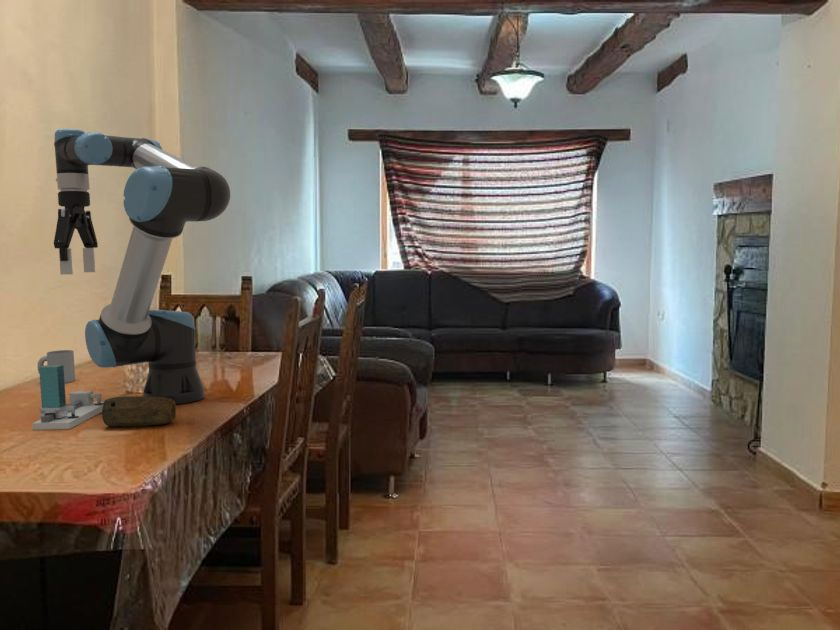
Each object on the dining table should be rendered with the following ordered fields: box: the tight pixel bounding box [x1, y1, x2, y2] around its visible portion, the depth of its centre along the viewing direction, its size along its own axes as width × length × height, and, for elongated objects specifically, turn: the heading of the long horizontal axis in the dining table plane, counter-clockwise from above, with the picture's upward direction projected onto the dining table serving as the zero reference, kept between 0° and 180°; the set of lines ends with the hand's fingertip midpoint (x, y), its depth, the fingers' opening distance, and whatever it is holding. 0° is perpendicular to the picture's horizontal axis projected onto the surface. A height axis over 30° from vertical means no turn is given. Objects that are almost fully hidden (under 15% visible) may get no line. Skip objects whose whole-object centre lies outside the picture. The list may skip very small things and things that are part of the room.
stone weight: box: [101, 395, 177, 428], centre depth 171 cm, size 15×7×7 cm, turn 101°
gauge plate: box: [31, 390, 104, 431], centre depth 179 cm, size 8×22×4 cm, turn 0°
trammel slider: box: [38, 364, 76, 418], centre depth 172 cm, size 7×4×11 cm, turn 90°
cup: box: [37, 349, 76, 384], centre depth 228 cm, size 7×10×9 cm
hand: (78, 273), depth 201 cm, fingers open, 13 cm apart
